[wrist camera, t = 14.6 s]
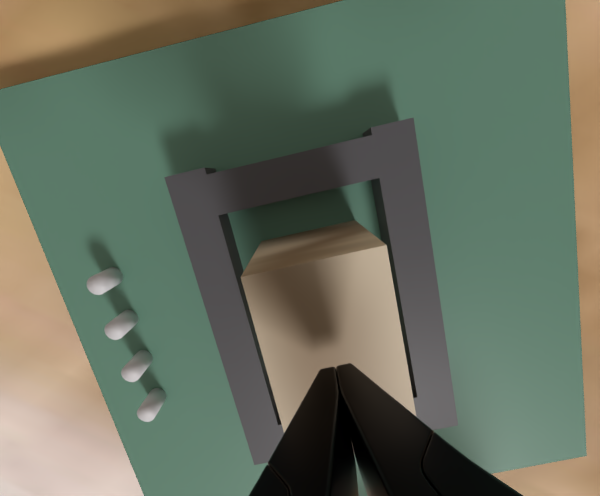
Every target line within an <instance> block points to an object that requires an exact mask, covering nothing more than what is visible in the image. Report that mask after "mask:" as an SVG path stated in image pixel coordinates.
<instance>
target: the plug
mask: <svg viewBox="0 0 600 496" xmlns="http://www.w3.org/2000/svg"><path fill="white" fill-rule="evenodd" d="M241 281H242V284H243V288H244V291H245V295H246V299H247V302H248V306H249V309H250V313H251V316H252V320H253V324H254V327H255V331H256V334H257V338H258V342H259V345H260V349H261V352H262V356H263V359H264V363H265V367H266V370H267V374H268V377H269V381H270V384H271V388H272V392H273V395H274V399H275V402H276V406H277V410H278V413H279V417H280V420H281V424H282V427H283V431H284V433H285V431H286V429H287V427H288V425H289V424H290V422H291V420H292V418H293V417H294V415H295V413H296V411H297V409H298V408H299V406H300V404H301V402H302V400H303V399H304V397H305V395H306V393H307V391H308V390H309V388H310V386H311V384H312V383H313V381H314V379H315V377H316V375H317V374H318V372H319V370H320V369H323V368H328V367H335V368H336V367H337V366H338V365H342V364H347V363H351V364H353V365H354V366H355V367H357V368H358V369H359V370H360V371H361V372H363V373H364V374H365V375H366V376H368V377H369V378H370V379H371V380H372V381H374V382H375V383H376V384H377V385H378V386H380V387H381V388H382V389H383V390H385V391H386V392H387V393H388V394H389V395H391V396H392V397H393V398H394V399H395V400H397V401H398V402H399V403H400V404H402V405H403V406H404V407H405V408H406V409H408V410H409V411H410V412H411V413H412V414H414V415H415V416H416V411H415V405H414V400H413V394H412V388H411V382H410V377H409V371H408V365H407V359H406V354H405V348H404V342H403V336H402V331H401V325H400V319H399V313H398V308H397V302H396V296H395V290H394V285H393V279H392V273H391V267H390V262H389V256H388V250H387V245H386V244H385V243H384V242H382V241H381V240H380V239H378V238H377V237H376V236H375V235H373V234H372V233H371V232H370V231H368V230H367V229H366V228H364V227H363V226H362V225H361V224H359V223H358V222H357V221H356V220H353V221H348V222H344V223H340V224H335V225H331V226H326V227H322V228H317V229H313V230H309V231H304V232H300V233H295V234H291V235H286V236H282V237H277V238H273V239H269V240H264V241H261V243H260V244H259V246H258V248H257V250H256V251H255V253H254V255H253V257H252V258H251V260H250V262H249V263H248V265H247V267H246V269H245V270H244V272H243V274H242V276H241ZM353 450H354V449H353ZM354 454H355V453H354Z"/></svg>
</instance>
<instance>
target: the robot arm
mask: <svg viewBox="0 0 600 496" xmlns="http://www.w3.org/2000/svg"><path fill="white" fill-rule="evenodd" d="M353 449H354V450H353ZM354 453H355V456H354ZM355 458H356V462H357V465H358V468H359V471H360V474H361V477H362V480H363V483H364V487H365V490H366V493H367V496H523V495H521V494H520V493H518V492H517V491H515V490H514V489H512V488H511V487H509V486H508V485H506V484H505V483H503V482H502V481H500V480H499V479H497V478H496V477H494V476H493V475H491V474H490V473H489V472H487V471H486V470H484V469H483V468H481V467H480V466H478V465H477V464H476V463H474V462H473V461H471V460H470V459H468V458H467V457H466V456H465V455H463V454H462V453H461V452H459V451H458V450H457V449H456V448H454V447H453V446H452V445H450V444H449V443H448V442H447V441H445V440H444V439H443V438H442V437H441V436H439V435H438V434H437V433H435V432H434V431H433V430H432V429H431V428H429V427H428V426H427V425H426V424H425V423H423V422H422V421H421V420H420V419H419V418H417V417H416V416H415V415H414V414H412V413H411V412H410V411H409V410H408V409H406V408H405V407H404V406H403V405H402V404H400V403H399V402H398V401H397V400H395V399H394V398H393V397H392V396H391V395H389V394H388V393H387V392H386V391H385V390H383V389H382V388H381V387H380V386H378V385H377V384H376V383H375V382H374V381H372V380H371V379H370V378H369V377H368V376H366V375H365V374H364V373H363V372H361V371H360V370H359V369H358V368H357V367H355V366H354V365H353V364H351V363H347V364H342V365H338V366H337V367H336V368H335V367H328V368H323V369H320V370H319V372H318V374H317V375H316V377H315V379H314V381H313V383H312V384H311V386H310V388H309V390H308V391H307V393H306V395H305V397H304V399H303V400H302V402H301V404H300V406H299V408H298V409H297V411H296V413H295V415H294V417H293V418H292V420H291V422H290V424H289V425H288V427H287V429H286V431H285V433H284V434H283V436H282V438H281V440H280V442H279V443H278V445H277V447H276V449H275V451H274V452H273V454H272V456H271V458H270V459H269V461H268V465H266V466H265V468H264V470H263V472H262V473H261V475H260V477H259V479H258V481H257V482H256V484H255V486H254V487H253V489H252V491H251V492H250V494H249V496H359V493H358V482H357V471H356V462H355Z"/></svg>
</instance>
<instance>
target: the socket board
mask: <svg viewBox="0 0 600 496" xmlns="http://www.w3.org/2000/svg"><path fill="white" fill-rule="evenodd" d="M0 146H1V148H2V151H3V153H4V156H5V158H6V161H7V163H8V166H9V168H10V170H11V173H12V175H13V178H14V180H15V183H16V185H17V187H18V190H19V192H20V195H21V197H22V200H23V202H24V204H25V207H26V209H27V212H28V214H29V217H30V219H31V221H32V224H33V226H34V229H35V231H36V234H37V236H38V238H39V241H40V243H41V246H42V248H43V251H44V253H45V256H46V258H47V260H48V263H49V265H50V268H51V270H52V273H53V275H54V277H55V280H56V282H57V285H58V287H59V290H60V292H61V294H62V297H63V299H64V302H65V304H66V307H67V309H68V311H69V314H70V316H71V319H72V321H73V324H74V326H75V328H76V331H77V333H78V336H79V338H80V341H81V343H82V346H83V348H84V350H85V353H86V355H87V358H88V360H89V363H90V365H91V367H92V370H93V372H94V375H95V377H96V380H97V382H98V384H99V387H100V389H101V392H102V394H103V397H104V399H105V401H106V404H107V406H108V409H109V411H110V414H111V416H112V418H113V421H114V423H115V426H116V428H117V431H118V433H119V436H120V438H121V440H122V443H123V445H124V448H125V450H126V453H127V455H128V457H129V460H130V462H131V465H132V467H133V470H134V472H135V474H136V477H137V479H138V482H139V484H140V487H141V489H142V491H143V494H144V496H249V494H250V492H251V491H252V489H253V487H254V486H255V484H256V482H257V481H258V479H259V477H260V475H261V473H262V472H263V470H264V468H265V466H266V465H268V461H269V459H270V458H271V456H272V454H273V452H274V451H275V449H276V447H277V445H278V443H279V442H280V440H281V438H282V436H283V434H284V431H283V427H282V424H281V420H280V417H279V413H278V410H277V406H276V402H275V399H274V395H273V392H272V388H271V384H270V381H269V377H268V374H267V370H266V367H265V363H264V359H263V356H262V352H261V349H260V345H259V342H258V338H257V334H256V331H255V327H254V324H253V320H252V316H251V313H250V309H249V306H248V302H247V299H246V295H245V291H244V288H243V284H242V281H241V276H242V274H243V272H244V270H245V269H246V267H247V265H248V263H249V262H250V260H251V258H252V257H253V255H254V253H255V251H256V250H257V248H258V246H259V244H260V243H261V241H264V240H269V239H273V238H277V237H282V236H286V235H291V234H295V233H300V232H304V231H309V230H313V229H317V228H322V227H326V226H331V225H335V224H340V223H344V222H348V221H353V220H356V221H357V222H358V223H359V224H361V225H362V226H363V227H364V228H366V229H367V230H368V231H370V232H371V233H372V234H373V235H375V236H376V237H377V238H378V239H380V240H381V241H382V242H384V243H385V244H386V245H387V250H388V256H389V262H390V267H391V273H392V279H393V285H394V290H395V296H396V302H397V308H398V313H399V319H400V325H401V331H402V336H403V342H404V348H405V354H406V359H407V365H408V371H409V377H410V382H411V388H412V394H413V400H414V405H415V411H416V417H417V418H419V419H420V420H421V421H422V422H423V423H425V424H426V425H427V426H428V427H429V428H431V429H432V430H433V431H434V432H435V433H437V434H438V435H439V436H441V437H442V438H443V439H444V440H445V441H447V442H448V443H449V444H450V445H452V446H453V447H454V448H456V449H457V450H458V451H459V452H461V453H462V454H463V455H465V456H466V457H467V458H468V459H470V460H471V461H473V462H474V463H476V464H477V465H478V466H480V467H481V468H483V469H484V470H486V471H487V472H489V473H490V474H492V473H498V472H503V471H508V470H513V469H519V468H524V467H529V466H535V465H540V464H545V463H551V462H556V461H561V460H567V459H572V458H577V457H583V456H587V455H586V433H585V412H584V391H583V370H582V348H581V327H580V306H579V285H578V263H577V242H576V221H575V200H574V179H573V157H572V136H571V115H570V94H569V72H568V51H567V30H566V9H565V0H343V1H339V2H335V3H331V4H327V5H323V6H319V7H316V8H312V9H308V10H304V11H300V12H296V13H292V14H289V15H285V16H281V17H277V18H273V19H269V20H265V21H262V22H258V23H254V24H250V25H246V26H242V27H238V28H235V29H231V30H227V31H223V32H219V33H215V34H211V35H208V36H204V37H200V38H196V39H192V40H188V41H184V42H181V43H177V44H173V45H169V46H165V47H161V48H157V49H154V50H150V51H146V52H142V53H138V54H134V55H130V56H127V57H123V58H119V59H115V60H111V61H107V62H103V63H100V64H96V65H92V66H88V67H84V68H80V69H76V70H73V71H69V72H65V73H61V74H57V75H53V76H49V77H46V78H42V79H38V80H34V81H30V82H26V83H22V84H19V85H15V86H11V87H7V88H3V89H0ZM354 456H355V454H354ZM355 462H356V458H355ZM356 471H357V482H358V493H359V496H367V493H366V490H365V487H364V483H363V480H362V477H361V474H360V471H359V468H358V465H357V462H356Z"/></svg>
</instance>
